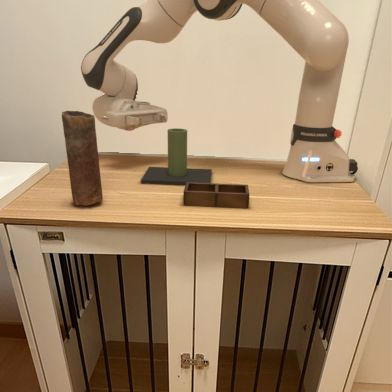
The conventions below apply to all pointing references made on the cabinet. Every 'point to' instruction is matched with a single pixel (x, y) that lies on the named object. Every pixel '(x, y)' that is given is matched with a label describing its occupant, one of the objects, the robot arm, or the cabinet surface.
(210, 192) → the divided wooden tray
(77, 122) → the weathered brown tube
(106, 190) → the cabinet surface
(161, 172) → the mat
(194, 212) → the cabinet surface
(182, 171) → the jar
